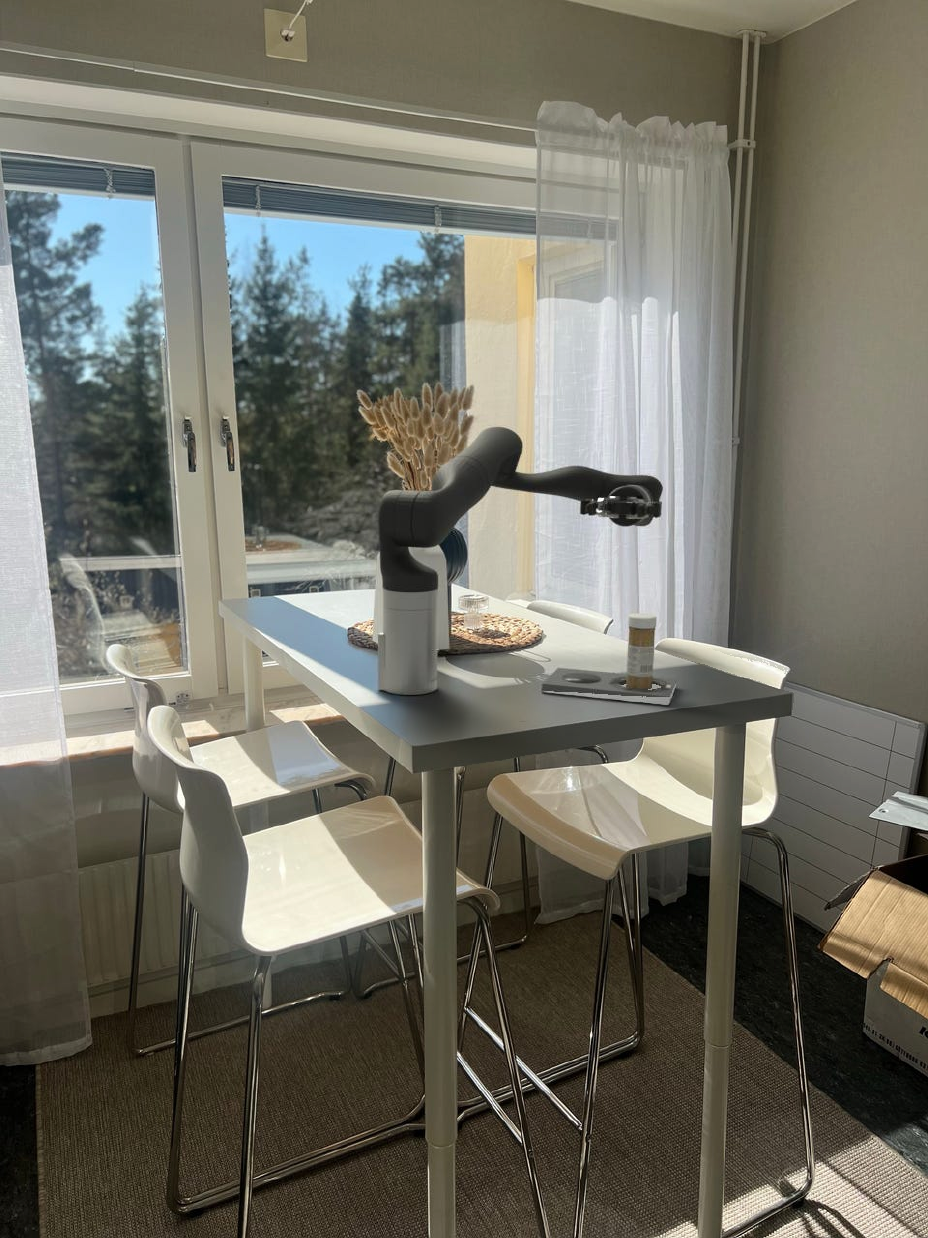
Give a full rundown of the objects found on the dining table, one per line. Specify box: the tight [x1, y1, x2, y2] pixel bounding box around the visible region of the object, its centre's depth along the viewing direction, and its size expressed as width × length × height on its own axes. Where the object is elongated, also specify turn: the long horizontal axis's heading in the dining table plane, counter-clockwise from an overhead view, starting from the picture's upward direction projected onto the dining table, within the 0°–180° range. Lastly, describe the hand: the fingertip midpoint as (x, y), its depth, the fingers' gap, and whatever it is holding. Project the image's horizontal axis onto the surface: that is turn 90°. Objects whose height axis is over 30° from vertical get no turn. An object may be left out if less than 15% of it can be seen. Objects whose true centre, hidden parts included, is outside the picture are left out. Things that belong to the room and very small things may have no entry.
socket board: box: [541, 667, 678, 697], centre depth 155 cm, size 21×12×2 cm, turn 71°
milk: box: [371, 544, 450, 650], centre depth 183 cm, size 12×12×26 cm
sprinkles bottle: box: [626, 612, 657, 690], centre depth 153 cm, size 5×5×13 cm
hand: (614, 510), depth 158 cm, fingers open, 8 cm apart
